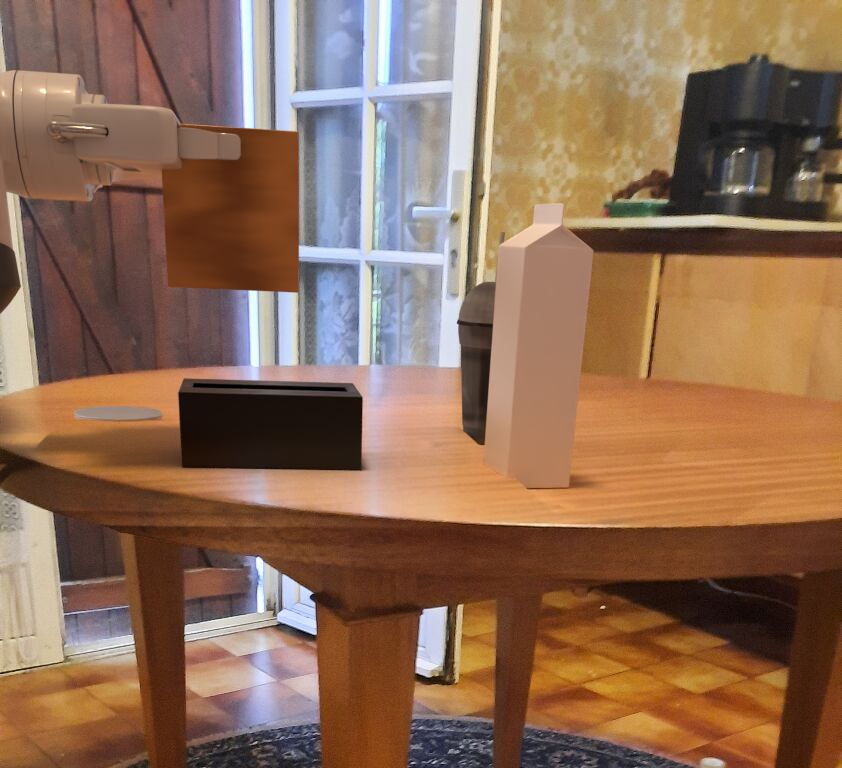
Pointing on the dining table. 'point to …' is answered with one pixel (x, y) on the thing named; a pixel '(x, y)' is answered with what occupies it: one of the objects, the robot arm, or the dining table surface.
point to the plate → (118, 413)
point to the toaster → (270, 425)
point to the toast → (235, 216)
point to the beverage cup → (476, 355)
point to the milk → (537, 351)
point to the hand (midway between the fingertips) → (241, 149)
